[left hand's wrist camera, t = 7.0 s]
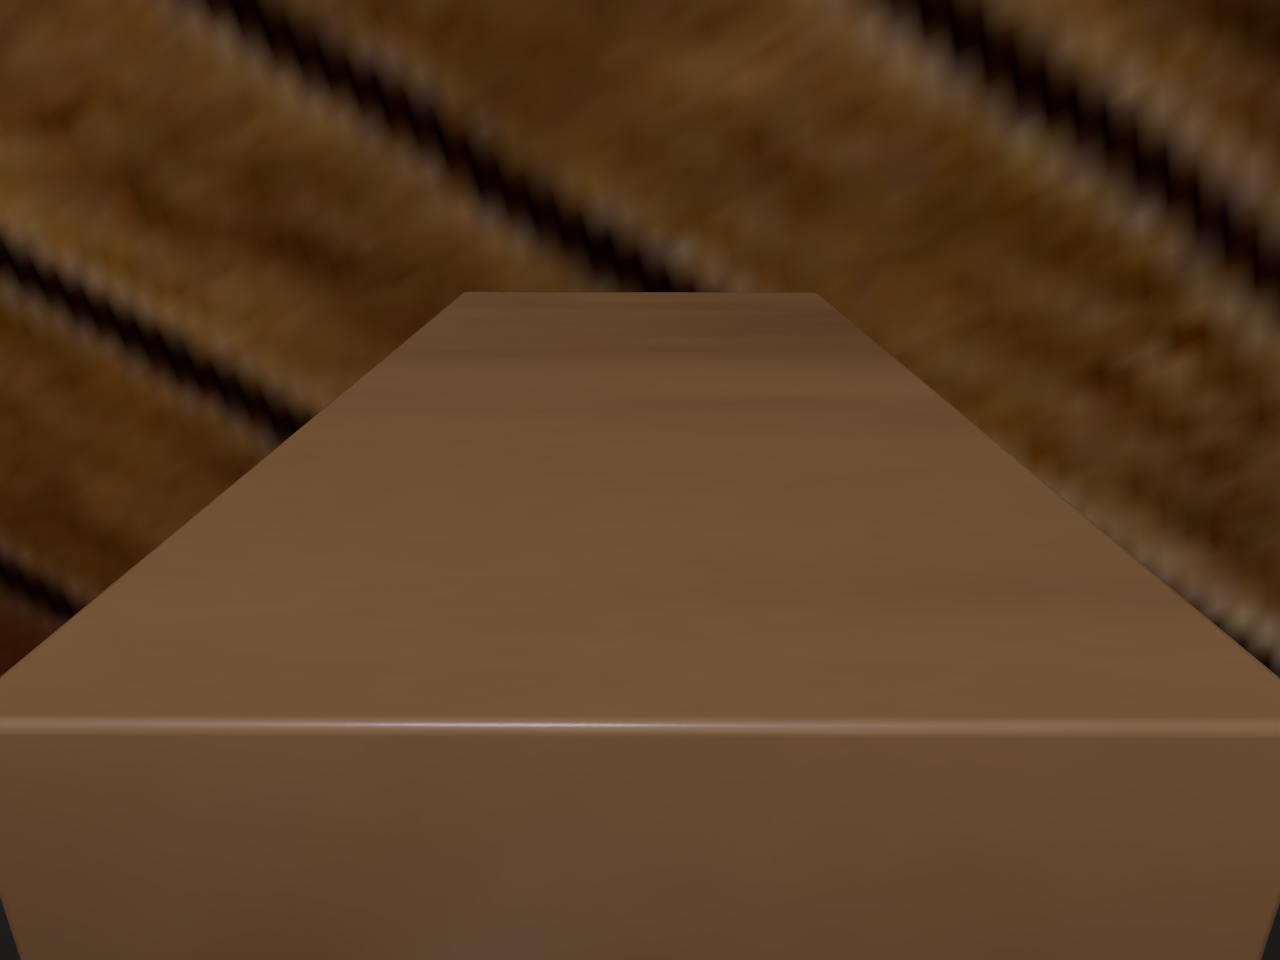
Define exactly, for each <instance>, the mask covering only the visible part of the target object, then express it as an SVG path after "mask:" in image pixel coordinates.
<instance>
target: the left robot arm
mask: <svg viewBox="0 0 1280 960" xmlns="http://www.w3.org/2000/svg"><path fill="white" fill-rule="evenodd" d="M0 677H1V676H0ZM0 960H21V959H20V956H19V953H18V950H17V947H16V944H15V941H14V938H13V935H12V932H11V928H10V925H9V922H8V919H7V916H6V913H5V910H4V907H3V904H2V901H1V898H0ZM1261 960H1280V905H1279V908H1278V911H1277V914H1276V917H1275V920H1274V923H1273V926H1272V929H1271V932H1270V935H1269V938H1268V941H1267V944H1266V947H1265V950H1264V953H1263V956H1262V959H1261Z"/></svg>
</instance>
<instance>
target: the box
mask: <svg viewBox="0 0 1280 960" xmlns="http://www.w3.org/2000/svg"><path fill="white" fill-rule="evenodd" d="M0 898H1V901H2V904H3V907H4V910H5V913H6V916H7V919H8V922H9V925H10V928H11V932H12V935H13V938H14V941H15V944H16V947H17V950H18V953H19V956H20V959H21V960H1261V959H1262V956H1263V953H1264V950H1265V947H1266V944H1267V941H1268V938H1269V935H1270V932H1271V929H1272V926H1273V923H1274V920H1275V917H1276V914H1277V911H1278V908H1279V905H1280V678H1279V677H1278V676H1276V675H1275V674H1274V673H1273V672H1272V671H1270V670H1269V669H1268V668H1267V667H1266V666H1264V665H1263V664H1262V663H1261V662H1260V661H1258V660H1257V659H1256V658H1255V657H1254V656H1252V655H1251V654H1250V653H1249V652H1248V651H1246V650H1245V649H1244V648H1243V647H1242V646H1240V645H1239V644H1238V643H1237V642H1236V641H1234V640H1233V639H1232V638H1231V637H1230V636H1228V635H1227V634H1226V633H1225V632H1224V631H1222V630H1221V629H1220V628H1219V627H1218V626H1216V625H1215V624H1214V623H1213V622H1212V621H1210V620H1209V619H1208V618H1207V617H1206V616H1204V615H1203V614H1202V613H1201V612H1200V611H1198V610H1197V609H1196V608H1195V607H1194V606H1192V605H1191V604H1190V603H1189V602H1188V601H1186V600H1185V599H1184V598H1183V597H1182V596H1180V595H1179V594H1178V593H1177V592H1176V591H1174V590H1173V589H1172V588H1171V587H1170V586H1168V585H1167V584H1166V583H1165V582H1163V581H1162V580H1161V579H1160V578H1159V577H1157V576H1156V575H1155V574H1154V573H1153V572H1151V571H1150V570H1149V569H1148V568H1147V567H1145V566H1144V565H1143V564H1142V563H1141V562H1139V561H1138V560H1137V559H1136V558H1135V557H1133V556H1132V555H1131V554H1130V553H1129V552H1127V551H1126V550H1125V549H1124V548H1123V547H1121V546H1120V545H1119V544H1118V543H1117V542H1115V541H1114V540H1113V539H1112V538H1111V537H1109V536H1108V535H1107V534H1106V533H1105V532H1103V531H1102V530H1101V529H1100V528H1099V527H1097V526H1096V525H1095V524H1094V523H1093V522H1091V521H1090V520H1089V519H1088V518H1087V517H1085V516H1084V515H1083V514H1082V513H1081V512H1079V511H1078V510H1077V509H1076V508H1075V507H1073V506H1072V505H1071V504H1070V503H1069V502H1067V501H1066V500H1065V499H1064V498H1063V497H1061V496H1060V495H1059V494H1058V493H1057V492H1055V491H1054V490H1053V489H1052V488H1051V487H1049V486H1048V485H1047V484H1046V483H1045V482H1043V481H1042V480H1041V479H1040V478H1039V477H1037V476H1036V475H1035V474H1034V473H1033V472H1031V471H1030V470H1029V469H1028V468H1027V467H1025V466H1024V465H1023V464H1022V463H1021V462H1019V461H1018V460H1017V459H1016V458H1015V457H1013V456H1012V455H1011V454H1010V453H1008V452H1007V451H1006V450H1005V449H1004V448H1002V447H1001V446H1000V445H999V444H998V443H996V442H995V441H994V440H993V439H992V438H990V437H989V436H988V435H987V434H986V433H984V432H983V431H982V430H981V429H980V428H978V427H977V426H976V425H975V424H974V423H972V422H971V421H970V420H969V419H968V418H966V417H965V416H964V415H963V414H962V413H960V412H959V411H958V410H957V409H956V408H954V407H953V406H952V405H951V404H950V403H948V402H947V401H946V400H945V399H944V398H942V397H941V396H940V395H939V394H938V393H936V392H935V391H934V390H933V389H932V388H930V387H929V386H928V385H927V384H926V383H924V382H923V381H922V380H921V379H920V378H918V377H917V376H916V375H915V374H914V373H912V372H911V371H910V370H909V369H908V368H906V367H905V366H904V365H903V364H902V363H900V362H899V361H898V360H897V359H896V358H894V357H893V356H892V355H891V354H890V353H888V352H887V351H886V350H885V349H884V348H882V347H881V346H880V345H879V344H878V343H876V342H875V341H874V340H873V339H872V338H870V337H869V336H868V335H867V334H866V333H864V332H863V331H862V330H861V329H860V328H858V327H857V326H856V325H855V324H854V323H852V322H851V321H850V320H849V319H847V318H846V317H845V316H844V315H843V314H841V313H840V312H839V311H838V310H837V309H835V308H834V307H833V306H832V305H831V304H829V303H828V302H827V301H826V300H825V299H823V298H822V297H821V296H820V295H819V294H817V293H670V292H465V293H463V294H462V295H460V296H459V297H458V298H457V299H456V300H454V301H453V302H452V303H451V304H450V305H448V306H447V307H446V308H445V309H444V310H442V311H441V312H440V313H439V314H438V315H436V316H435V317H434V318H433V319H432V320H430V321H429V322H428V323H427V324H426V325H424V326H423V327H422V328H421V329H419V330H418V331H417V332H416V333H415V334H413V335H412V336H411V337H410V338H409V339H407V340H406V341H405V342H404V343H403V344H401V345H400V346H399V347H398V348H397V349H395V350H394V351H393V352H392V353H391V354H389V355H388V356H387V357H386V358H385V359H383V360H382V361H381V362H380V363H378V364H377V365H376V366H375V367H374V368H372V369H371V370H370V371H369V372H368V373H366V374H365V375H364V376H363V377H362V378H360V379H359V380H358V381H357V382H356V383H354V384H353V385H352V386H351V387H350V388H348V389H347V390H346V391H345V392H344V393H342V394H341V395H340V396H339V397H337V398H336V399H335V400H334V401H333V402H331V403H330V404H329V405H328V406H327V407H325V408H324V409H323V410H322V411H321V412H319V413H318V414H317V415H316V416H315V417H313V418H312V419H311V420H310V421H309V422H307V423H306V424H305V425H304V426H303V427H301V428H300V429H299V430H298V431H296V432H295V433H294V434H293V435H292V436H290V437H289V438H288V439H287V440H286V441H284V442H283V443H282V444H281V445H280V446H278V447H277V448H276V449H275V450H274V451H272V452H271V453H270V454H269V455H268V456H266V457H265V458H264V459H263V460H262V461H260V462H259V463H258V464H257V465H255V466H254V467H253V468H252V469H251V470H249V471H248V472H247V473H246V474H245V475H243V476H242V477H241V478H240V479H239V480H237V481H236V482H235V483H234V484H233V485H231V486H230V487H229V488H228V489H227V490H225V491H224V492H223V493H222V494H221V495H219V496H218V497H217V498H216V499H214V500H213V501H212V502H211V503H210V504H208V505H207V506H206V507H205V508H204V509H202V510H201V511H200V512H199V513H198V514H196V515H195V516H194V517H193V518H192V519H190V520H189V521H188V522H187V523H186V524H184V525H183V526H182V527H181V528H180V529H178V530H177V531H176V532H175V533H173V534H172V535H171V536H170V537H169V538H167V539H166V540H165V541H164V542H163V543H161V544H160V545H159V546H158V547H157V548H155V549H154V550H153V551H152V552H151V553H149V554H148V555H147V556H146V557H145V558H143V559H142V560H141V561H140V562H139V563H137V564H136V565H135V566H134V567H132V568H131V569H130V570H129V571H128V572H126V573H125V574H124V575H123V576H122V577H120V578H119V579H118V580H117V581H116V582H114V583H113V584H112V585H111V586H110V587H108V588H107V589H106V590H105V591H104V592H102V593H101V594H100V595H99V596H98V597H96V598H95V599H94V600H93V601H91V602H90V603H89V604H88V605H87V606H85V607H84V608H83V609H82V610H81V611H79V612H78V613H77V614H76V615H75V616H73V617H72V618H71V619H70V620H69V621H67V622H66V623H65V624H64V625H63V626H61V627H60V628H59V629H58V630H57V631H55V632H54V633H53V634H52V635H50V636H49V637H48V638H47V639H46V640H44V641H43V642H42V643H41V644H40V645H38V646H37V647H36V648H35V649H34V650H32V651H31V652H30V653H29V654H28V655H26V656H25V657H24V658H23V659H22V660H20V661H19V662H18V663H17V664H16V665H14V666H13V667H12V668H11V669H9V670H8V671H7V672H6V673H5V674H3V675H2V676H1V677H0Z"/></svg>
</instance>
